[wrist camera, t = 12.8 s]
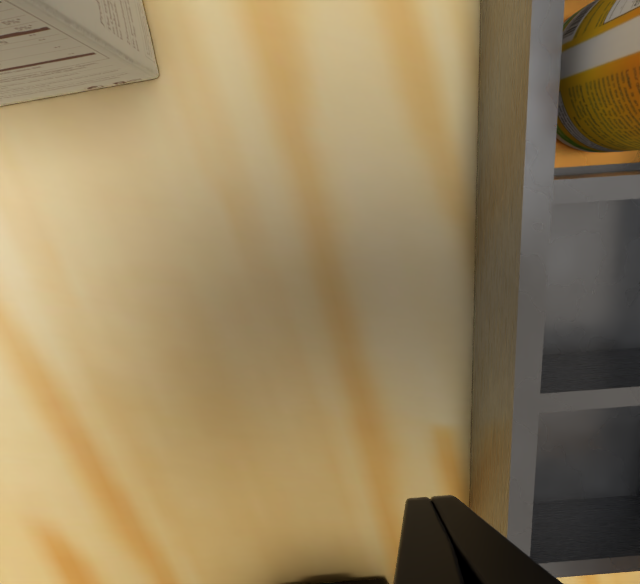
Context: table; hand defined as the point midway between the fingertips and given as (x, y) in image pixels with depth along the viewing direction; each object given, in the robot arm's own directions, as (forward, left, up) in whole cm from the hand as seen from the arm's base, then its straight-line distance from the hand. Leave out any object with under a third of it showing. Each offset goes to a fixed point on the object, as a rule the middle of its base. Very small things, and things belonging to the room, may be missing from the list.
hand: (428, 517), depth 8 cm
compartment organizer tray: (+1, -10, -13) cm, 16 cm away
